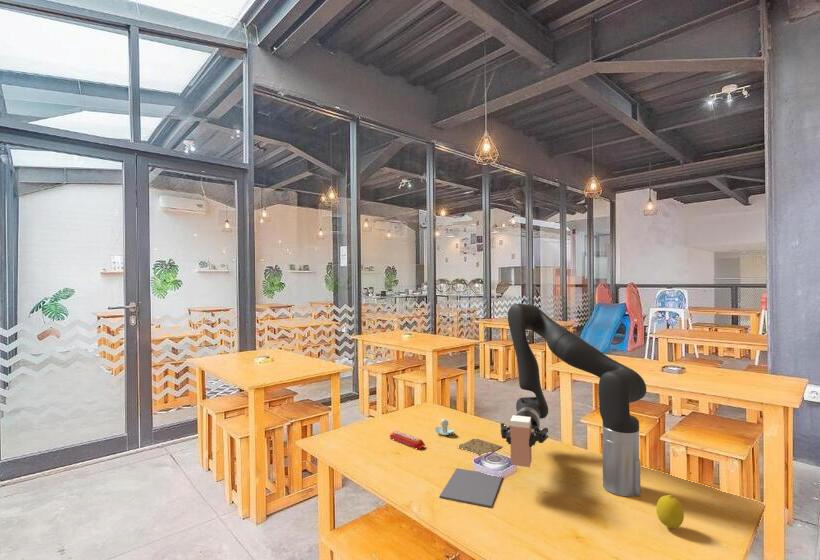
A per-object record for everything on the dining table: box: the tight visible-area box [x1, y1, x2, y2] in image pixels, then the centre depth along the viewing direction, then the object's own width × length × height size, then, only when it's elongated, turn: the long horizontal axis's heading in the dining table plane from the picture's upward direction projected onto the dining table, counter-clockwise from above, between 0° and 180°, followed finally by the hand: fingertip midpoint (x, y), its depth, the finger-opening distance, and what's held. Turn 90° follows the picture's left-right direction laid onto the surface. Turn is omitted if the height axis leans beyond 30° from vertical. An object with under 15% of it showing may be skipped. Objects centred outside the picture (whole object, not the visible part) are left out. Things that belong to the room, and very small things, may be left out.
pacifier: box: [434, 418, 455, 436], centre depth 162 cm, size 7×6×6 cm
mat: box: [438, 467, 503, 508], centre depth 121 cm, size 14×18×1 cm
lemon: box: [655, 494, 685, 530], centre depth 101 cm, size 6×6×8 cm
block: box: [509, 414, 533, 468], centre depth 118 cm, size 5×5×12 cm
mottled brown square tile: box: [458, 438, 504, 456], centre depth 150 cm, size 12×12×1 cm
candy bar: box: [388, 430, 426, 450], centre depth 153 cm, size 16×4×3 cm, turn 45°
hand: (519, 441), depth 116 cm, fingers closed on block, 5 cm apart
